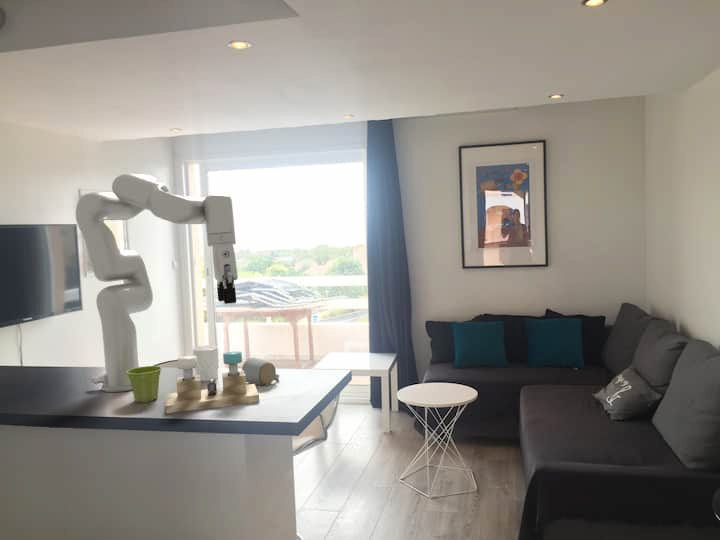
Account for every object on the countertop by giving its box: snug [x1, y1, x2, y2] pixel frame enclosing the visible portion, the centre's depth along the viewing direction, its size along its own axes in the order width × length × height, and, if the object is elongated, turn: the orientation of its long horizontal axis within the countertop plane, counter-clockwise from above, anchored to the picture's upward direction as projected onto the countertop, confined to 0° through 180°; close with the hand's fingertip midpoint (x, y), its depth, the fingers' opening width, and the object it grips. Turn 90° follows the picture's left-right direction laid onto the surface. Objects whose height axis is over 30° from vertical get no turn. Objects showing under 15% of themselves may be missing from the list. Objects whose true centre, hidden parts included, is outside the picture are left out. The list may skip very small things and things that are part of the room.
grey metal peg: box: [206, 379, 218, 396], centre depth 159 cm, size 2×2×4 cm
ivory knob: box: [177, 355, 197, 381], centre depth 157 cm, size 5×5×8 cm
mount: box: [165, 370, 260, 414], centre depth 159 cm, size 24×12×7 cm, turn 106°
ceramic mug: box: [241, 357, 280, 386], centre depth 177 cm, size 11×8×8 cm
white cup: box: [192, 344, 219, 382], centre depth 185 cm, size 8×8×10 cm
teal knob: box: [222, 350, 243, 376], centre depth 160 cm, size 5×5×8 cm
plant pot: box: [126, 365, 163, 403], centre depth 164 cm, size 9×9×9 cm
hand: (227, 301), depth 160 cm, fingers open, 9 cm apart
